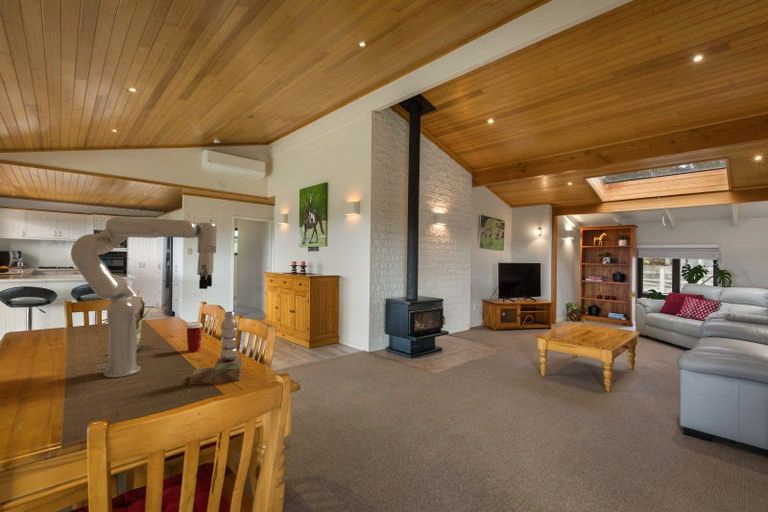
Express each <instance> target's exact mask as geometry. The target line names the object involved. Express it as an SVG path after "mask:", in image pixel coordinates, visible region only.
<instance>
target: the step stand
mask: <svg viewBox="0 0 768 512" xmlns="http://www.w3.org/2000/svg"><path fill="white" fill-rule="evenodd" d="M242 362H243V358H242V356H237V357H236V359H234V360H222V358H221V357H218V359H217V360H216V362H215V365H214V367H202V368H201V367H200V368H195V369H194V370H193V372H192V374H191V375H190V376H189V377H190V378H189V385H191V386H192V385H202V384H203V385H204V384H214V383H215V384H216V383H217V384H218V383H229V382H230V383H231V382H239V381H240V379H241V376H242V370H243V369H242Z"/></svg>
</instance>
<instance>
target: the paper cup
mask: <svg viewBox="0 0 768 512" xmlns="http://www.w3.org/2000/svg"><path fill="white" fill-rule="evenodd" d="M185 328H186V340H187V352H188V353H199V352H200V351H201V348H202V347H201V345H202V333H203V323H201V322H191V323H187V324H186V326H185Z"/></svg>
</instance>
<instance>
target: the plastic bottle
mask: <svg viewBox="0 0 768 512" xmlns="http://www.w3.org/2000/svg"><path fill="white" fill-rule="evenodd" d="M235 316H236V315H235V311H225V312H224V319H223V320H222V322H221V323H220V329H221V330H220V331H221V337H222V338H221V340H222V341H221V349H220V358H222V360H234V359H236V357H238V352H239V351H238V348H237V347H238V346H237V333H238V321H237V320H236V319H235Z"/></svg>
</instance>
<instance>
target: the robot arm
mask: <svg viewBox="0 0 768 512" xmlns="http://www.w3.org/2000/svg"><path fill="white" fill-rule="evenodd" d="M217 229H218V228H217V225H216V223H214V222H205V221H204V222H194V221H191V220H188V219H187V220H184V219H169V218H168V219H167V218H154V217H139V216H138V217H135V216H134V217H133V216H113V217H111V218H108V220H107V221H106V223H105V228H104V229H103V230H101V231H100V232H99V233H90V234H89V233H88V234H85V235H83V236H80V237H78V238H77V239H76V241H74V243H73V245H72V247H71V249H70V257H71V261H72V262H73V265H74V266H75V267H76V269H77V271H78V272H79V273H80V275H81V276H82V277H83V279H84V280H85V281H86V283H87V284H88V286H89V287H90V288H91V290H92V291H93V293H94V294H95V295H96V296H97V298H100V299H103V300H109V301H110V304H109V305H108V307H107V311H106V319H107V328H108V329H107V330H108V336H107V337H108V355H107V356H108V358H107V359H108V362H106V363H98V364H97V365H96V368H97V370H98V371H101V370H104V372H103V376H104V377H107V378H122V377H128V376H131V375H134V374H136V373H138V372H140V371H141V366H140V365H137V322H136V315H137V314H138V313H140V311H141V309H142V302H141V300H140V298H139V297H138V295H137V293H135V291H134V290H133V288H132V286H131V285H130V284H129V283H128V282H127V280H126V279H125V278H124V277H122V276H120V275H119V274H113V273H112V272H111V271H110V269H109V268H108V266H107V265H106V264H105V262H104V261H103V260H102V259H101V258H100V257H99V255H105V254H108V253H110V251H113V250H114V249H116V248H117V247H118V246H119V245H120V244H122V243H123V242H125V241H126V240H128V239H129V238H143V239H144V238H146V239H154V238H155V239H157V238H181V239H182V238H184V239H185V238H186V239H194V238H197V251H196V252H197V253H198V258H197V268H196V269H197V270H196V271H197V272H196V273H197V275H198V276H199V281H198V282H199V283H198V284H199V285H198V288H199V289H200V290H208V287H210V288H211V287H212V286H213V285H212V284H213V275H212V274H213V273H214V254H217V253H216V252H217V232H218V231H217Z"/></svg>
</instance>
